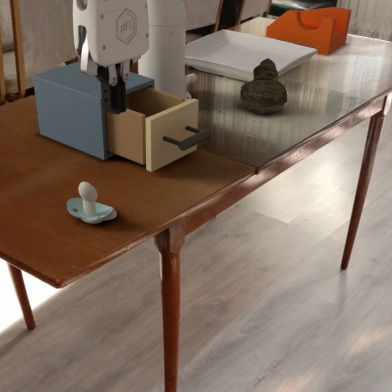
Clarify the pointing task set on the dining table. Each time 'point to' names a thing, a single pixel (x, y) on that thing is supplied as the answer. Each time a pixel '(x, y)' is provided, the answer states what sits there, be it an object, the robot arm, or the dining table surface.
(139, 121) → the drawer
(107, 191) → the dining table surface
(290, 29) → the tape dispenser
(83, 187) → the pacifier
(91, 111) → the cabinet
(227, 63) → the square plate
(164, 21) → the robot arm
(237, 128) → the dining table surface
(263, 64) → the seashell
